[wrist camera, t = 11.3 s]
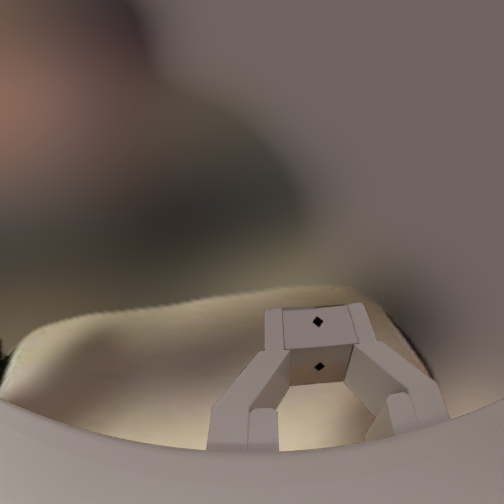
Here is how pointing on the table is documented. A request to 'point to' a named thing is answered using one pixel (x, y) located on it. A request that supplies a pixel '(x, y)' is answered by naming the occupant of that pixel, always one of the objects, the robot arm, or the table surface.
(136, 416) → the table surface
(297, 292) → the table surface
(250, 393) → the robot arm
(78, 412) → the table surface
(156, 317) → the table surface
